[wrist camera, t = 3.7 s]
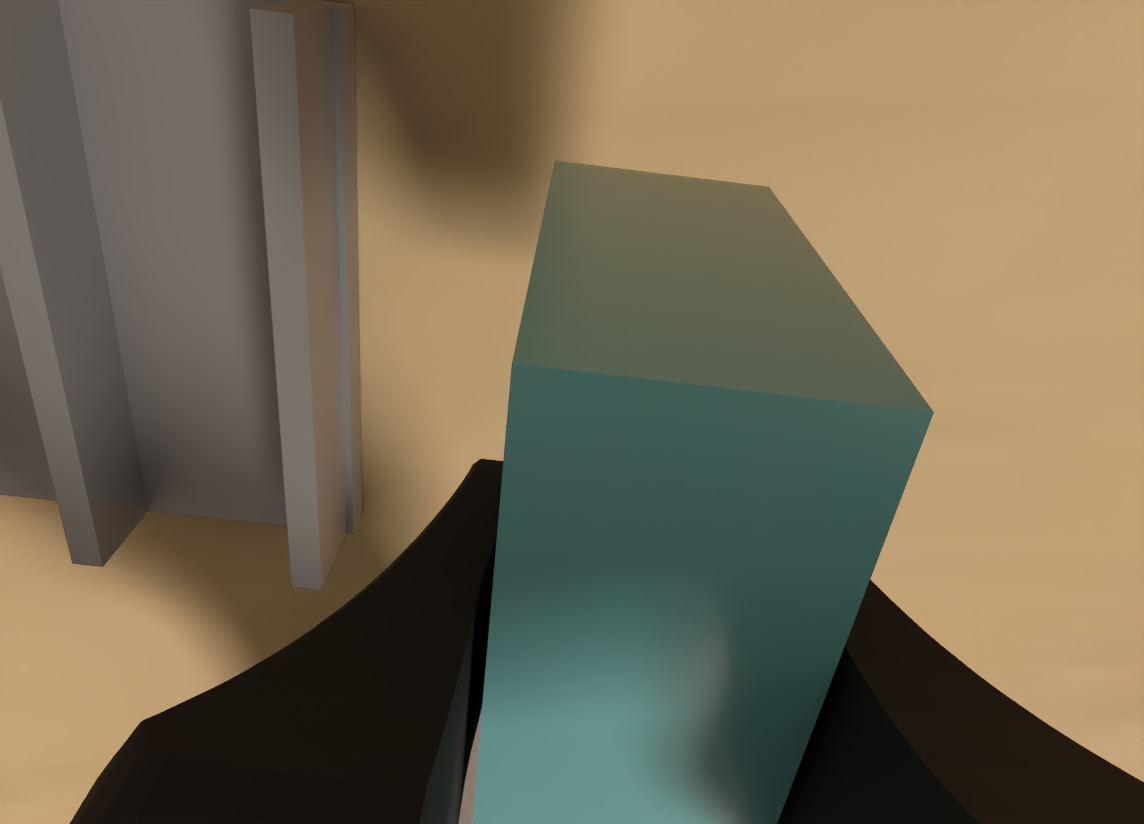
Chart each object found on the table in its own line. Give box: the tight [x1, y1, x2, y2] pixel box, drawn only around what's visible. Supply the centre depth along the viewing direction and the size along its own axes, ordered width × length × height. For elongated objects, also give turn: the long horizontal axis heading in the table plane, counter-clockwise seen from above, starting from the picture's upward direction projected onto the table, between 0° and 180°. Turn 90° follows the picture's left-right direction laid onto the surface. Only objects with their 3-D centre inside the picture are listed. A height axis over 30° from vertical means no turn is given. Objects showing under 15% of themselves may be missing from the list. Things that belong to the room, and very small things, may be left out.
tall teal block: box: [472, 161, 934, 824], centre depth 12 cm, size 9×4×8 cm, turn 173°
